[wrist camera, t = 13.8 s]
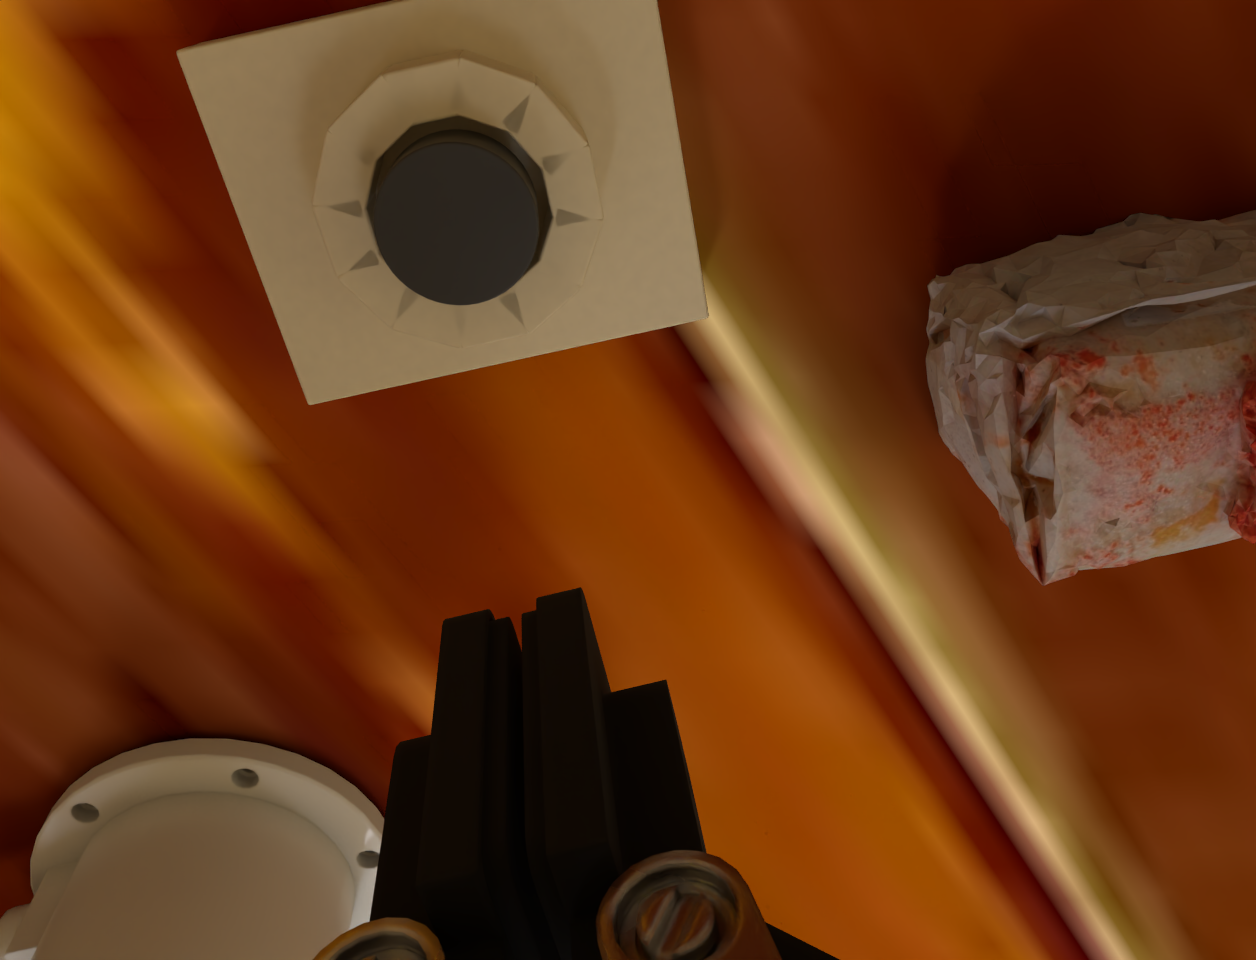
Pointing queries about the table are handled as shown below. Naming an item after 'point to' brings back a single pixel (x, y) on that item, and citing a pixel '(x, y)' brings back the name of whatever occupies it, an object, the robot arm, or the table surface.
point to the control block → (441, 100)
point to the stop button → (457, 217)
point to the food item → (1105, 389)
